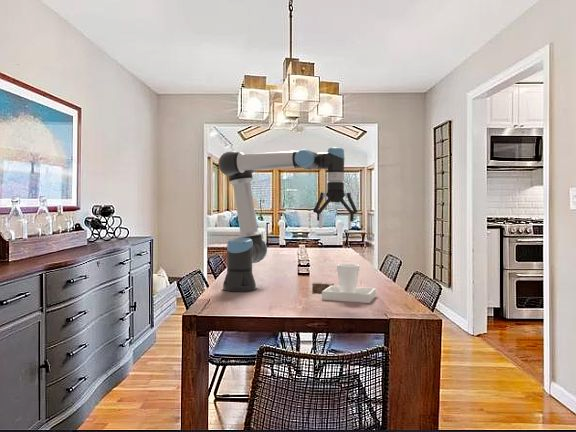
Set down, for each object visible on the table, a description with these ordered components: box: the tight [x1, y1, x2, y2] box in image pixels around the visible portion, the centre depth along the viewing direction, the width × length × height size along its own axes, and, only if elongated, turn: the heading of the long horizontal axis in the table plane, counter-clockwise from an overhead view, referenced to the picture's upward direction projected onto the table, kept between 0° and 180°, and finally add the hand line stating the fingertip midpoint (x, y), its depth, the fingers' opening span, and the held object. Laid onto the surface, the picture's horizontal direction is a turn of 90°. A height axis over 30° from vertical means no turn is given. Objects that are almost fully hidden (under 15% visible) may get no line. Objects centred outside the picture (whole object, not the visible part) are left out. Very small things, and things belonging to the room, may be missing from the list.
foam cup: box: [336, 263, 360, 293], centre depth 221 cm, size 10×9×13 cm
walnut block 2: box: [322, 282, 335, 291], centre depth 234 cm, size 4×4×4 cm
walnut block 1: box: [311, 281, 323, 293], centre depth 236 cm, size 4×4×4 cm
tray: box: [321, 284, 377, 304], centre depth 221 cm, size 20×16×4 cm
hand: (335, 228), depth 237 cm, fingers open, 13 cm apart
